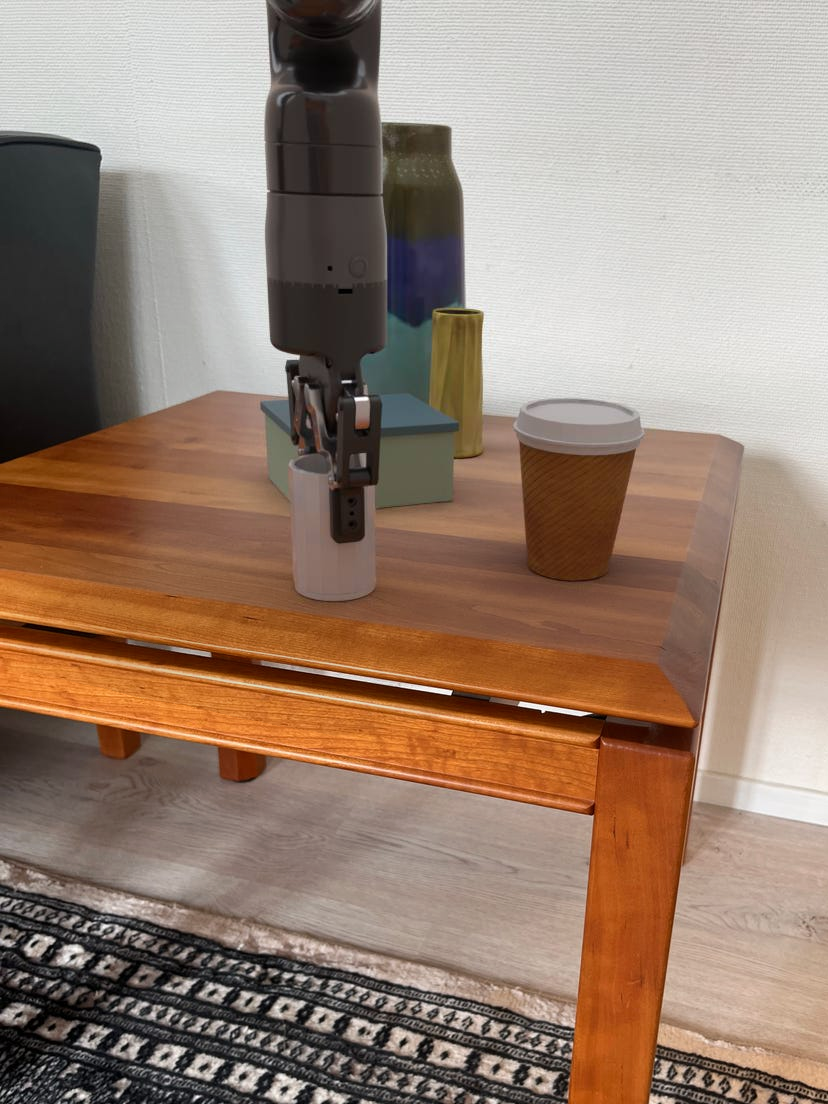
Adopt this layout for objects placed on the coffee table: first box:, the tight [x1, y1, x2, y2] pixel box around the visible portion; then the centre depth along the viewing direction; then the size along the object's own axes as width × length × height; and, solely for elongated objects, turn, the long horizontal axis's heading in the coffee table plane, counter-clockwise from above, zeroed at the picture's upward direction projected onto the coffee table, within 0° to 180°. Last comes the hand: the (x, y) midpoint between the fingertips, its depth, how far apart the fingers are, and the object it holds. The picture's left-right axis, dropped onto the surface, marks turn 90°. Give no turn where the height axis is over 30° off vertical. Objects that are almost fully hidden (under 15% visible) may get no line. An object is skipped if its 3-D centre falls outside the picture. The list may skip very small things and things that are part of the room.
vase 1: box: [360, 121, 467, 405], centre depth 116 cm, size 14×14×31 cm
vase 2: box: [429, 307, 485, 459], centre depth 105 cm, size 6×6×14 cm
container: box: [259, 393, 459, 509], centre depth 93 cm, size 15×13×7 cm
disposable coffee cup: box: [512, 397, 646, 581], centre depth 76 cm, size 10×10×12 cm
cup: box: [289, 453, 377, 602], centre depth 71 cm, size 6×6×9 cm
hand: (333, 525), depth 71 cm, fingers closed on cup, 6 cm apart
